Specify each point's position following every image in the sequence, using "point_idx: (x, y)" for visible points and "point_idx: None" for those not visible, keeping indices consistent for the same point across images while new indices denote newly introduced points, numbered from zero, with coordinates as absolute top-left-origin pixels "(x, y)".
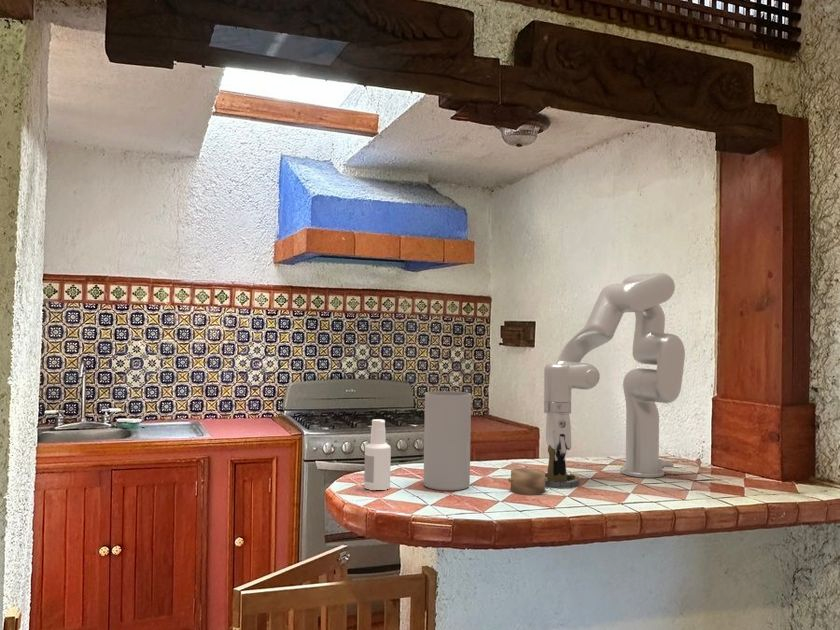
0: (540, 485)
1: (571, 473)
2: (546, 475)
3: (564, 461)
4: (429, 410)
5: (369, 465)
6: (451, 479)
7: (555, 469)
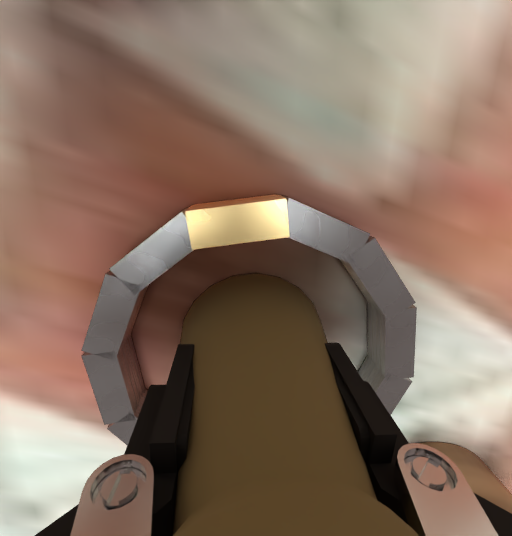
0: None
1: (191, 238)
2: (134, 393)
3: (392, 436)
4: None
5: None
6: None
7: None
